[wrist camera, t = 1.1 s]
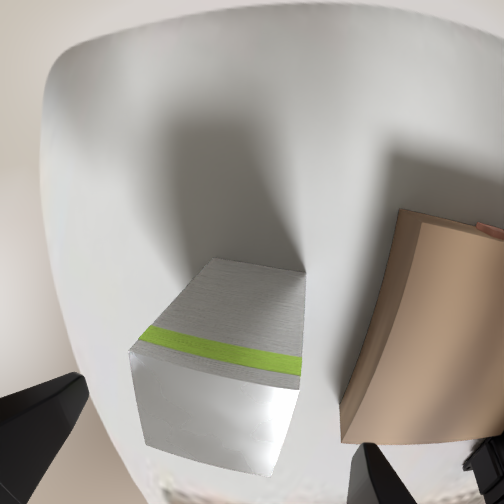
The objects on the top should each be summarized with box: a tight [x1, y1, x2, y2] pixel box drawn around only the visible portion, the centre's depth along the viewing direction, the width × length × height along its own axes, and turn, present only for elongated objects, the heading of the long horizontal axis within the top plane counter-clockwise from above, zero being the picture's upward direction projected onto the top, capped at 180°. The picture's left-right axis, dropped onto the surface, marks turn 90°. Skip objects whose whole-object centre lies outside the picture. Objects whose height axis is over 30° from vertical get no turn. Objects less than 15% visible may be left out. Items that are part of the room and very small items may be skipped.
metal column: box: [128, 257, 306, 477], centre depth 12 cm, size 4×4×8 cm
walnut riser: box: [339, 209, 504, 445], centre depth 12 cm, size 12×12×3 cm
